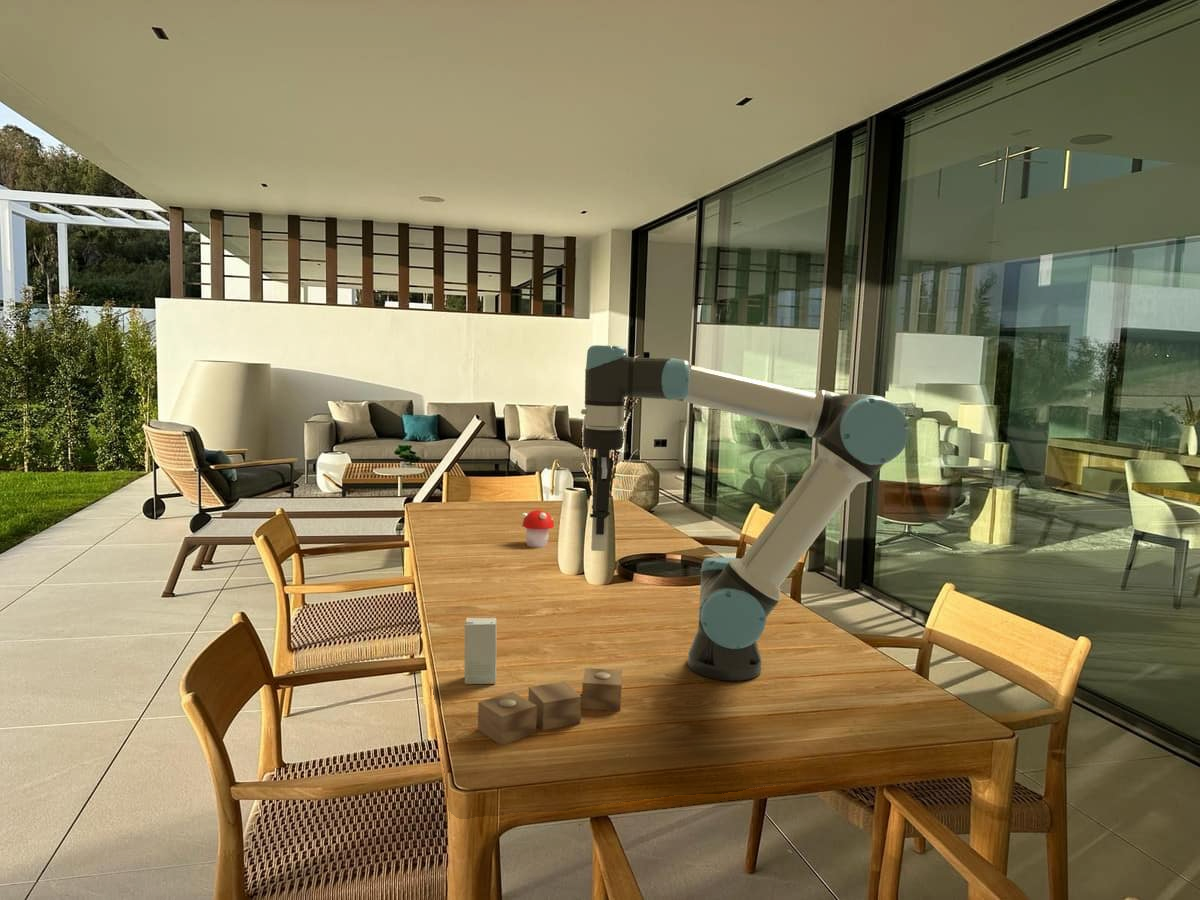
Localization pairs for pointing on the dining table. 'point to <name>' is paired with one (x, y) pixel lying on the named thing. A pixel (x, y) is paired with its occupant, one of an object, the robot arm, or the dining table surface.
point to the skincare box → (480, 651)
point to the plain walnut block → (556, 705)
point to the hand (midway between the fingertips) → (598, 549)
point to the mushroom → (537, 527)
